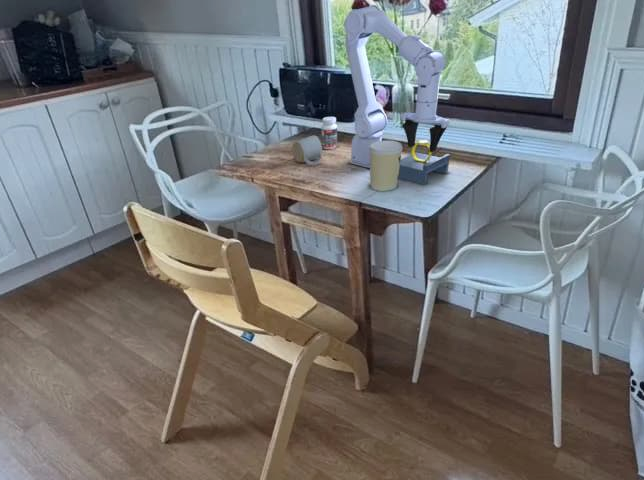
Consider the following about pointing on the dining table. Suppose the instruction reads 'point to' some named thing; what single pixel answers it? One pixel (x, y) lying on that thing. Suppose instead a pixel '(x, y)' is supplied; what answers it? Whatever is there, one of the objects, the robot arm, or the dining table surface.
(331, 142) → the pill bottle
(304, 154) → the ceramic mug
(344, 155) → the dining table surface
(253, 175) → the dining table surface
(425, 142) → the watch
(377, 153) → the coffee cup
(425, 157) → the blue stand
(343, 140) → the dining table surface
